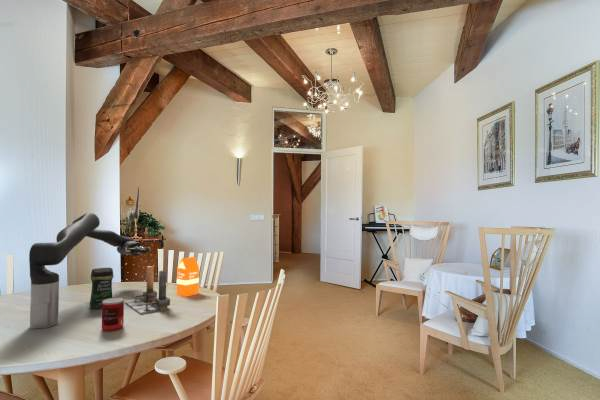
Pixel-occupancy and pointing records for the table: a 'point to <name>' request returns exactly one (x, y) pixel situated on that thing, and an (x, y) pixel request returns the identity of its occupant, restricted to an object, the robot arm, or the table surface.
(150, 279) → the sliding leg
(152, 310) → the grey metal fixture
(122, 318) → the canned food
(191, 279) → the orange juice
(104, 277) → the coffee jar
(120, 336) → the table surface
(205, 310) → the table surface
